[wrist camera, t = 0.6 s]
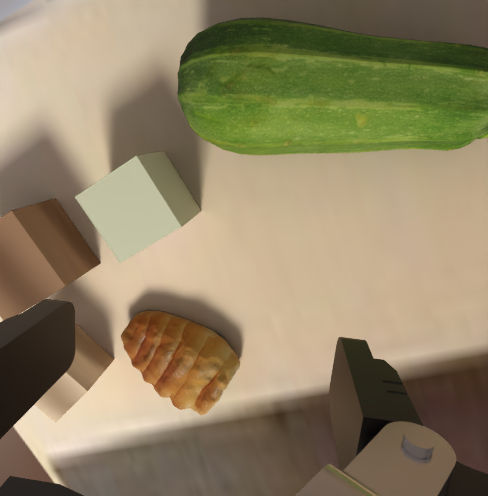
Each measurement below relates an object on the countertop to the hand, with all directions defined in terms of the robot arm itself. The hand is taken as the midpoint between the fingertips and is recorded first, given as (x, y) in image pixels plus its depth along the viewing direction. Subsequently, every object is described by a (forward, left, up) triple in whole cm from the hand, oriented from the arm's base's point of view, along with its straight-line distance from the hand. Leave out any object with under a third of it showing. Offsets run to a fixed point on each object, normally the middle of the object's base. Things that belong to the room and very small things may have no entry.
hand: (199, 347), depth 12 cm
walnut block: (+16, -6, -18) cm, 25 cm away
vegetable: (-9, -4, -18) cm, 20 cm away
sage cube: (+6, -5, -18) cm, 19 cm away
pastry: (+11, +7, -18) cm, 22 cm away
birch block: (+20, +3, -18) cm, 27 cm away
